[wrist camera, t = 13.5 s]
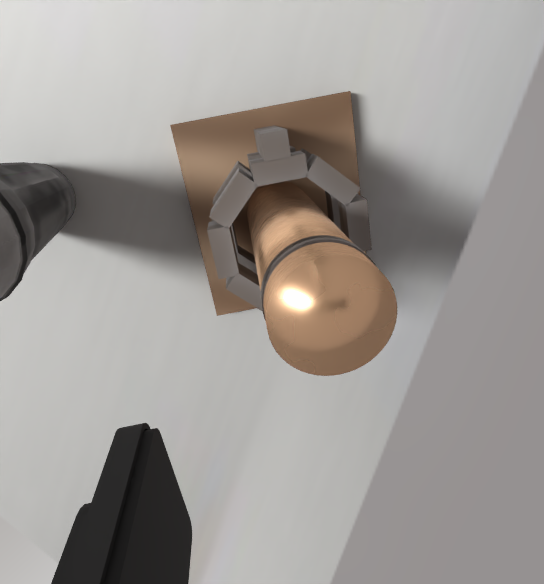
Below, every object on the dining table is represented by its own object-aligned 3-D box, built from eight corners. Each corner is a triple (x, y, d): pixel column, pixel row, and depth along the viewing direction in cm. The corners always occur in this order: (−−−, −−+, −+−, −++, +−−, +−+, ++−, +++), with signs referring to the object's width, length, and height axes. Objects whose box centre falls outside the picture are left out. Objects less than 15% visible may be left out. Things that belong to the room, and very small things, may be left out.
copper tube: (240, 186, 31) (253, 268, 14) (305, 173, 31) (393, 241, 14) (253, 248, 33) (277, 388, 16) (314, 236, 33) (402, 362, 16)
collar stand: (172, 124, 30) (151, 128, 22) (346, 91, 30) (387, 84, 22) (217, 310, 35) (213, 366, 28) (365, 281, 36) (403, 329, 28)
